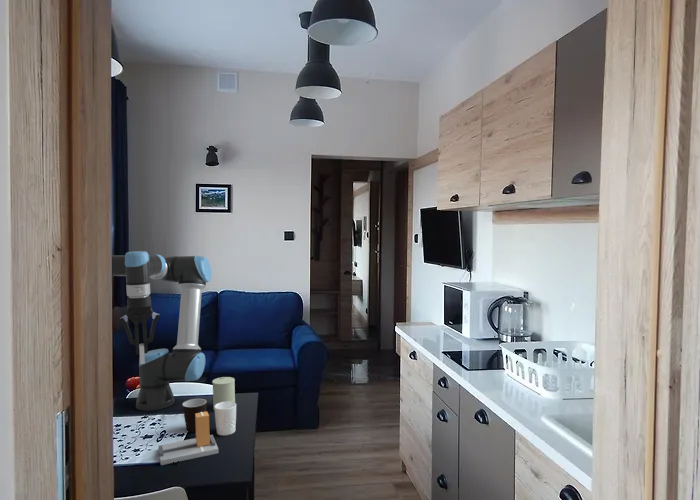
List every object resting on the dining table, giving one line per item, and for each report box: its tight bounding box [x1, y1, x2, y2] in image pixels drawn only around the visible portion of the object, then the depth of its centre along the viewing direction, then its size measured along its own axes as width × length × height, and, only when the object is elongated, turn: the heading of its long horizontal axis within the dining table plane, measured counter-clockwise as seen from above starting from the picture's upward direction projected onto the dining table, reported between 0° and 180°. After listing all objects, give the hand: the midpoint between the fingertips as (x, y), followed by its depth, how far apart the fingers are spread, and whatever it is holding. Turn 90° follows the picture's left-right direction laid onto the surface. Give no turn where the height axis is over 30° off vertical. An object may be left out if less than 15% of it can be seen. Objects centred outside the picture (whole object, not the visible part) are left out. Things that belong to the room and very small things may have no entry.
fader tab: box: [195, 411, 211, 447], centre depth 162 cm, size 4×4×10 cm
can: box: [211, 376, 236, 411], centre depth 200 cm, size 9×9×12 cm
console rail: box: [157, 434, 219, 466], centre depth 160 cm, size 12×18×2 cm, turn 115°
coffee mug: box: [182, 398, 208, 433], centre depth 180 cm, size 12×9×10 cm
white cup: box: [213, 401, 237, 436], centre depth 175 cm, size 8×8×10 cm
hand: (142, 362), depth 166 cm, fingers closed
